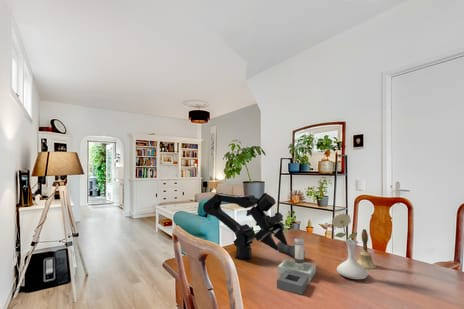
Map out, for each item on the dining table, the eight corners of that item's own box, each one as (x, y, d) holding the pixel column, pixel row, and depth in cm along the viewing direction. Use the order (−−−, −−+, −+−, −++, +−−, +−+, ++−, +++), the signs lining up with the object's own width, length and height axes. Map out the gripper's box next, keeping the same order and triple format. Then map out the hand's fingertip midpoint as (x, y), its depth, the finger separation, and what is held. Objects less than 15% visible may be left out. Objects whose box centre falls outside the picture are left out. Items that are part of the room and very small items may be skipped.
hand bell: (367, 270, 105) (366, 232, 106) (351, 263, 113) (350, 228, 114) (380, 267, 108) (380, 230, 109) (364, 260, 116) (363, 226, 117)
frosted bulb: (294, 272, 101) (294, 240, 101) (294, 268, 104) (294, 237, 105) (304, 273, 100) (304, 240, 101) (303, 269, 104) (303, 238, 104)
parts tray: (277, 273, 102) (277, 266, 102) (285, 265, 110) (285, 258, 110) (309, 281, 95) (309, 273, 95) (315, 272, 103) (315, 264, 104)
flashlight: (275, 251, 128) (275, 241, 129) (283, 249, 131) (283, 239, 131) (297, 261, 115) (297, 249, 115) (305, 259, 118) (305, 247, 118)
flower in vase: (365, 272, 104) (364, 212, 105) (370, 284, 93) (369, 217, 94) (331, 267, 108) (330, 210, 109) (333, 279, 97) (332, 215, 98)
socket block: (276, 288, 90) (276, 279, 90) (285, 278, 97) (285, 270, 98) (301, 294, 85) (301, 286, 85) (308, 284, 93) (308, 276, 93)
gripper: (261, 209, 104) (286, 241, 97) (280, 204, 119) (303, 232, 112) (245, 225, 108) (267, 257, 101) (265, 218, 123) (286, 246, 116)
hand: (282, 247), depth 107 cm, fingers open, 9 cm apart
